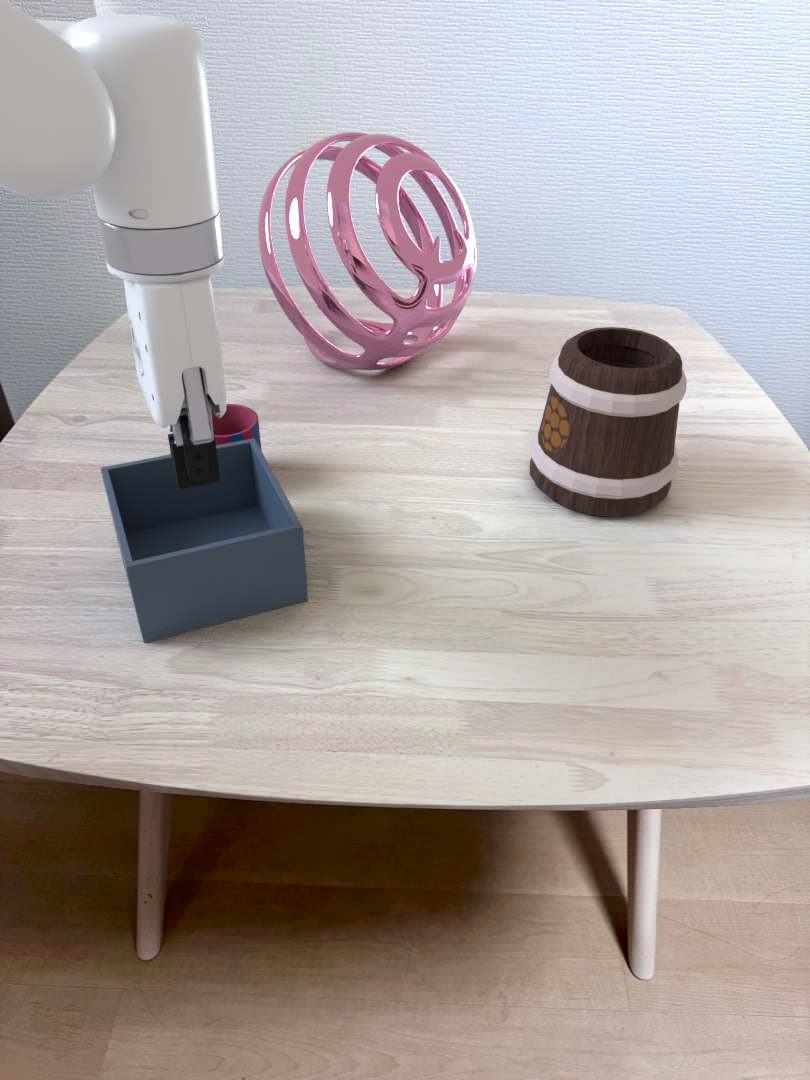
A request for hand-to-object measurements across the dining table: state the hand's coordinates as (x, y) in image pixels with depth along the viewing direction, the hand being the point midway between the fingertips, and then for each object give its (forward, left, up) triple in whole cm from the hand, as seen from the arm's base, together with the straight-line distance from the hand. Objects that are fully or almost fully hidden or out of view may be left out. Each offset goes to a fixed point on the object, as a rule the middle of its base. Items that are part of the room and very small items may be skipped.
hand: (197, 480), depth 66 cm
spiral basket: (+30, +40, -13) cm, 52 cm away
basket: (0, -3, -9) cm, 9 cm away
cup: (+4, +18, -13) cm, 23 cm away
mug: (+42, +6, -13) cm, 45 cm away
